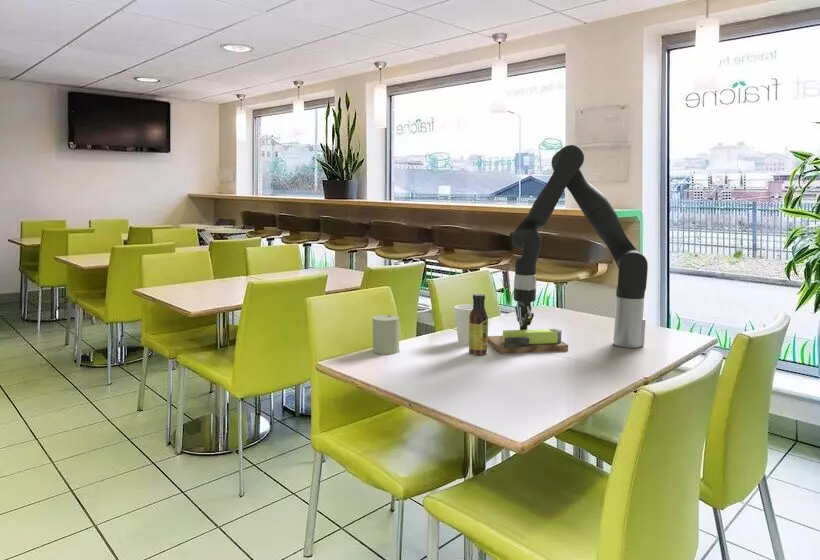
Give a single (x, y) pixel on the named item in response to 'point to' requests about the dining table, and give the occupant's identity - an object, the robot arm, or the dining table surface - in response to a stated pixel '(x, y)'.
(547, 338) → the yellow-green long bar
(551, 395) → the dining table surface
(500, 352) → the board
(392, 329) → the can
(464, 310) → the foam cup
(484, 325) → the sauce bottle
